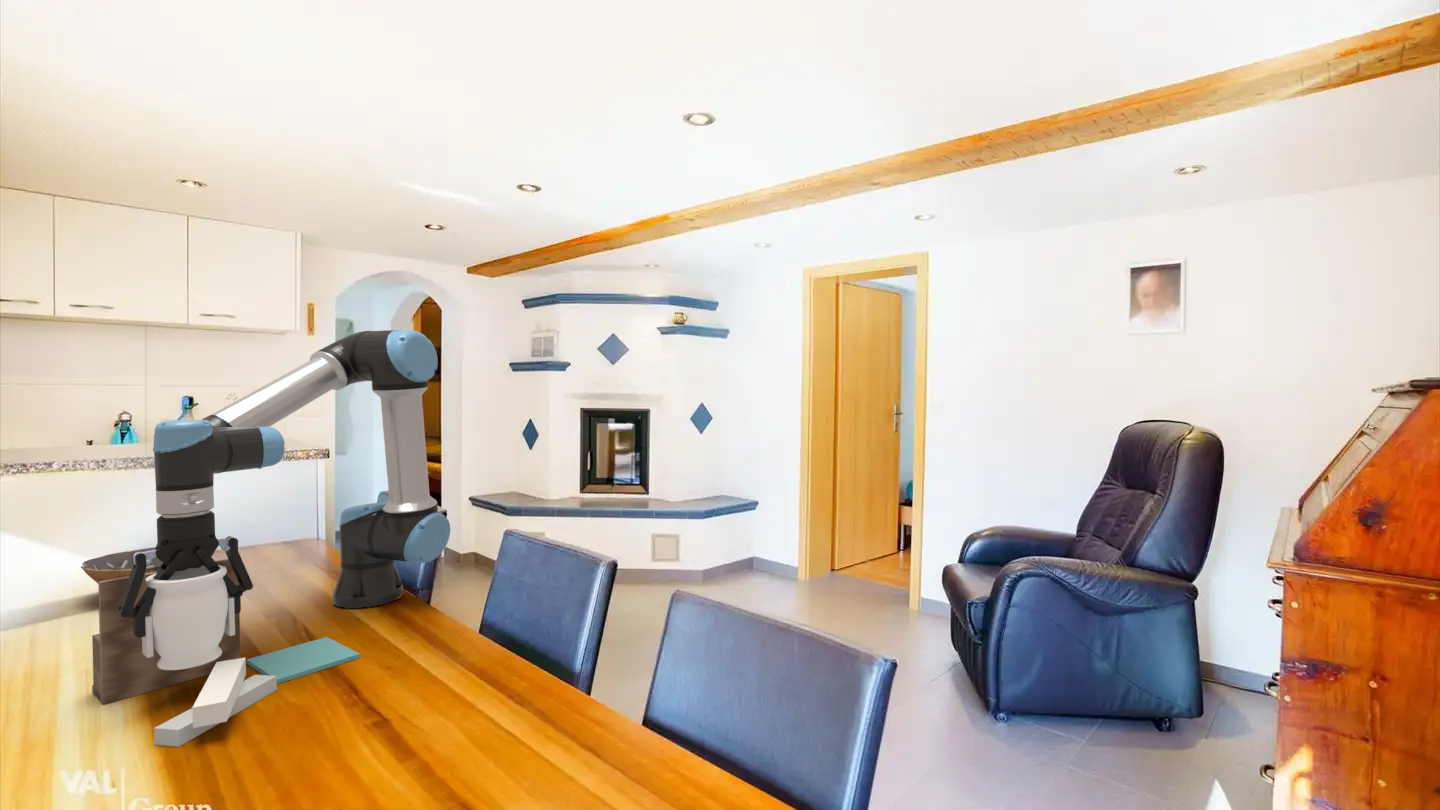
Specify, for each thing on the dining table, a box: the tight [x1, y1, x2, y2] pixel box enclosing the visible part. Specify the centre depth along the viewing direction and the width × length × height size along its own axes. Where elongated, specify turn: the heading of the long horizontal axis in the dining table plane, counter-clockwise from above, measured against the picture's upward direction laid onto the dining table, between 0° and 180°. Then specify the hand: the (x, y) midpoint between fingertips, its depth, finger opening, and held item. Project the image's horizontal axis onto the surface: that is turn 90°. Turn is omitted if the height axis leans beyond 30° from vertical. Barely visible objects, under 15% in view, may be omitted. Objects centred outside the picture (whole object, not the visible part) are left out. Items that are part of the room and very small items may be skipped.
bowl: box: [80, 546, 216, 584], centre depth 163 cm, size 25×25×10 cm
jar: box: [146, 565, 228, 670], centre depth 111 cm, size 11×10×15 cm
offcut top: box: [191, 657, 247, 728], centre depth 105 cm, size 18×4×3 cm, turn 28°
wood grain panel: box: [91, 558, 241, 706], centre depth 117 cm, size 19×7×20 cm, turn 144°
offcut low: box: [153, 674, 278, 748], centre depth 105 cm, size 18×4×3 cm, turn 173°
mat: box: [246, 636, 361, 685], centre depth 125 cm, size 14×14×1 cm
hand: (190, 643), depth 111 cm, fingers closed on jar, 10 cm apart
